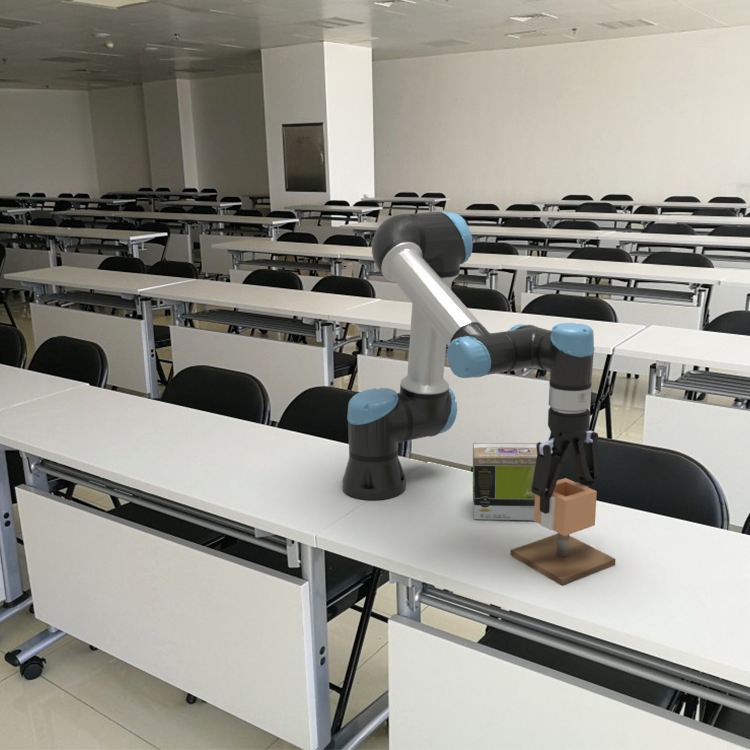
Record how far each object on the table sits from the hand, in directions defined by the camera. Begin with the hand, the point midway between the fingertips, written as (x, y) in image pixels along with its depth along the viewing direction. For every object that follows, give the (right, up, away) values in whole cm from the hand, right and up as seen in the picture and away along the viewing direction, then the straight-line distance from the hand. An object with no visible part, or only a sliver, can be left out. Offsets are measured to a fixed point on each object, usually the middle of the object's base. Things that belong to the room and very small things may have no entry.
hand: (564, 521), depth 153 cm
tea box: (-7, -3, +24) cm, 25 cm away
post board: (0, -8, +2) cm, 8 cm away
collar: (0, 0, 0) cm, 0 cm away
